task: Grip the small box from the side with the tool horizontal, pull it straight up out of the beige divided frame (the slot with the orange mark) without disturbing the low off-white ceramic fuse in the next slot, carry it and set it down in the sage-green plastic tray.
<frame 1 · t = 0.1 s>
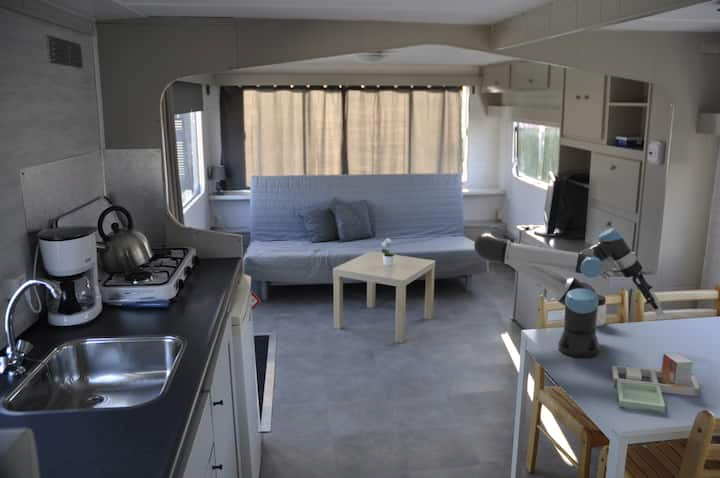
hand: (659, 309, 235), 15 cm above the table, tool tilted 35°, fingers open, 13 cm apart
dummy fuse: (632, 381, 209), resting in beige divided frame
small box: (674, 386, 205), resting in beige divided frame
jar: (593, 323, 264), on the table
tray: (639, 399, 196), on the table
beige divided frame: (653, 383, 207), on the table
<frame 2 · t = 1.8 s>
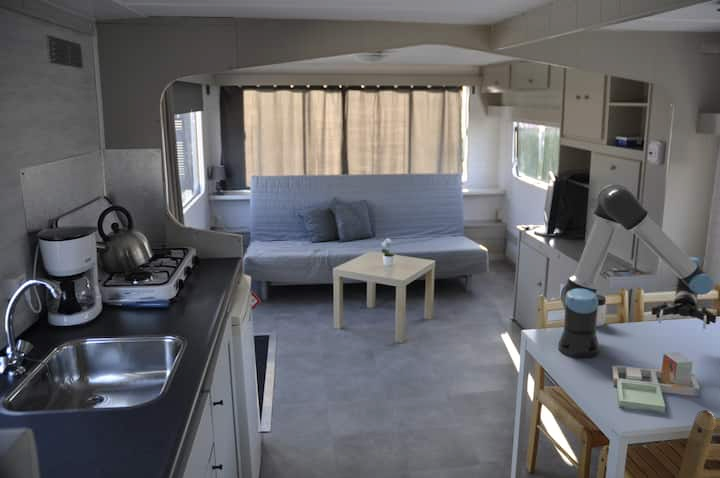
hand: (682, 322, 209), 20 cm above the table, tool horizontal, fingers open, 13 cm apart
nothing on the table moved.
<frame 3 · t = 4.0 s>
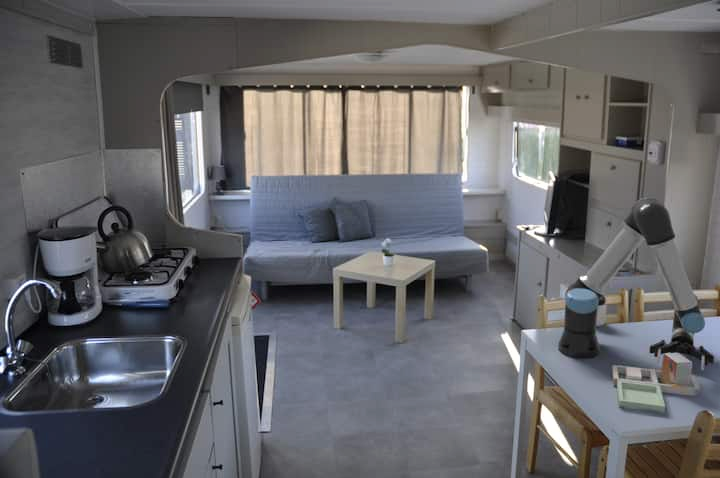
hand: (680, 362, 208), 6 cm above the table, tool horizontal, fingers open, 13 cm apart
nothing on the table moved.
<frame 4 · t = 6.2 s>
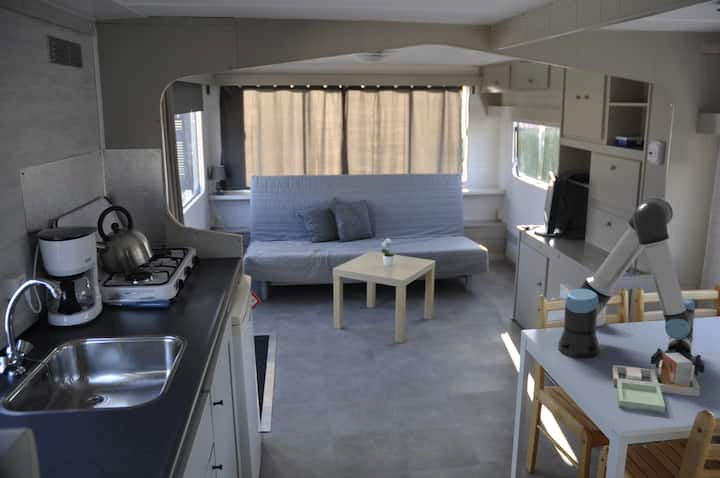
hand: (675, 373, 200), 7 cm above the table, tool horizontal, fingers closed on small box, 9 cm apart
small box: (674, 386, 205), resting in beige divided frame, touching gripper
everything else where it was.
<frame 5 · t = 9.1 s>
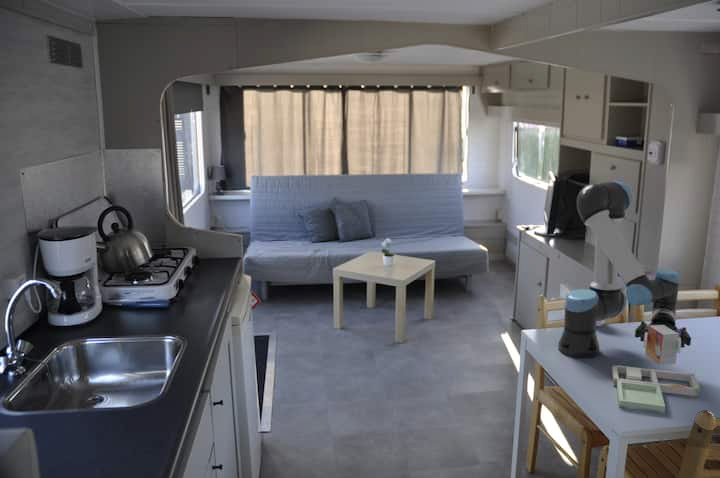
hand: (662, 346, 189), 20 cm above the table, tool horizontal, fingers closed on small box, 9 cm apart
small box: (660, 360, 194), point 13 cm above the table, touching gripper
everything else where it was.
when the fingers open (9 cm above the table, at t = 12.0 s): small box drops 2 cm, resting on tray.
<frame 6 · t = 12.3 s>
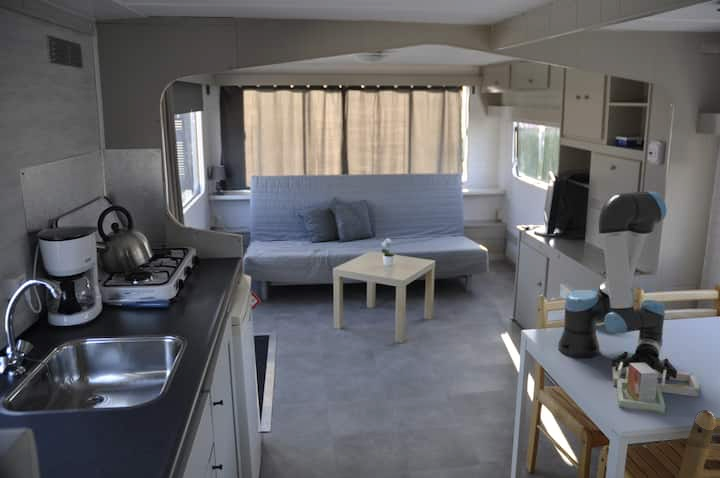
hand: (640, 377, 191), 9 cm above the table, tool horizontal, fingers open, 12 cm apart
small box: (640, 398, 196), point 1 cm above the table, touching tray
everything else where it was.
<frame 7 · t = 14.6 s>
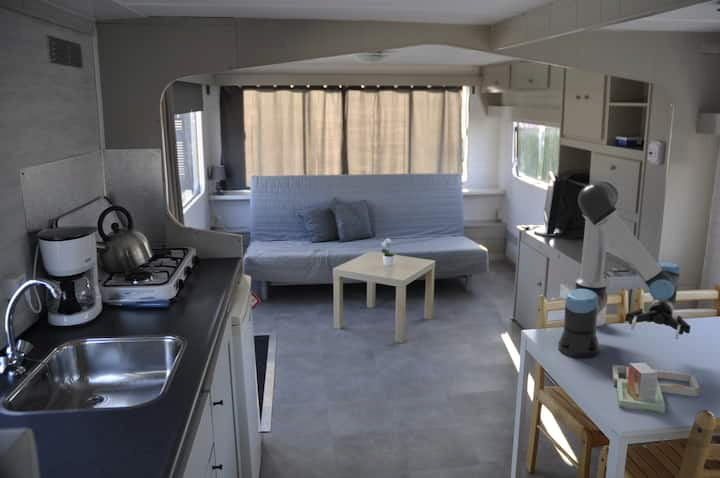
hand: (654, 330, 202), 20 cm above the table, tool horizontal, fingers open, 13 cm apart
nothing on the table moved.
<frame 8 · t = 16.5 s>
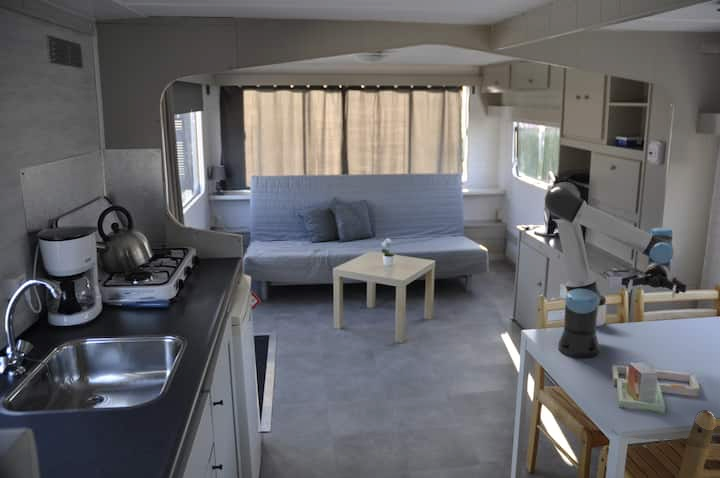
hand: (650, 291, 204), 32 cm above the table, tool horizontal, fingers open, 13 cm apart
nothing on the table moved.
at the end: small box inside the target area on the tray (0.2 cm from its centre), point 0.6 cm above the tray's base; small box tilted 0°; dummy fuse moved 0.1 cm from its start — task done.
